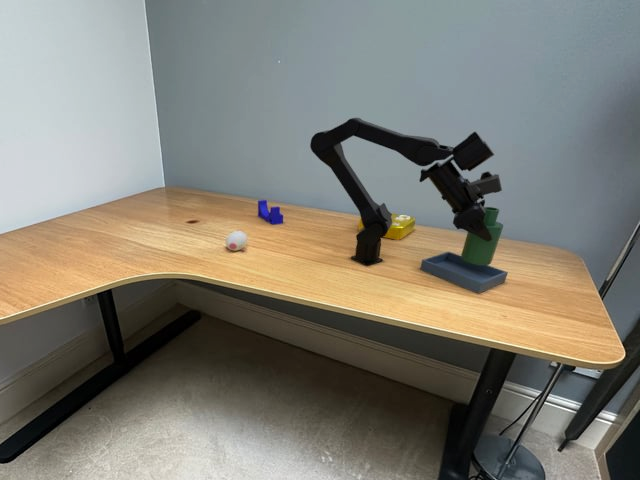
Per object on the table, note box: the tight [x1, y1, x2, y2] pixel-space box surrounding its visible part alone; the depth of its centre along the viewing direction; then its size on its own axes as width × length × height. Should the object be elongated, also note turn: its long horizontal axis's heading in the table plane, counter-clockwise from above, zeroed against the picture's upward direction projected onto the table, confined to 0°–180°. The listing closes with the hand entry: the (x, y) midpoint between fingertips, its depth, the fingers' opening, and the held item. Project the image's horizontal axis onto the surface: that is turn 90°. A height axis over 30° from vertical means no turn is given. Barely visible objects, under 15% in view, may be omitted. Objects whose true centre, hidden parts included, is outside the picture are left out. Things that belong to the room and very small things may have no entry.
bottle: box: [460, 206, 504, 266], centre depth 90 cm, size 7×7×13 cm
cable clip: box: [257, 199, 284, 226], centre depth 139 cm, size 12×4×6 cm, turn 25°
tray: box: [419, 251, 509, 294], centre depth 96 cm, size 11×16×3 cm
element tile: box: [358, 212, 416, 241], centre depth 128 cm, size 15×15×5 cm
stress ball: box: [225, 230, 248, 253], centre depth 113 cm, size 8×8×7 cm
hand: (489, 235), depth 89 cm, fingers closed on bottle, 7 cm apart
